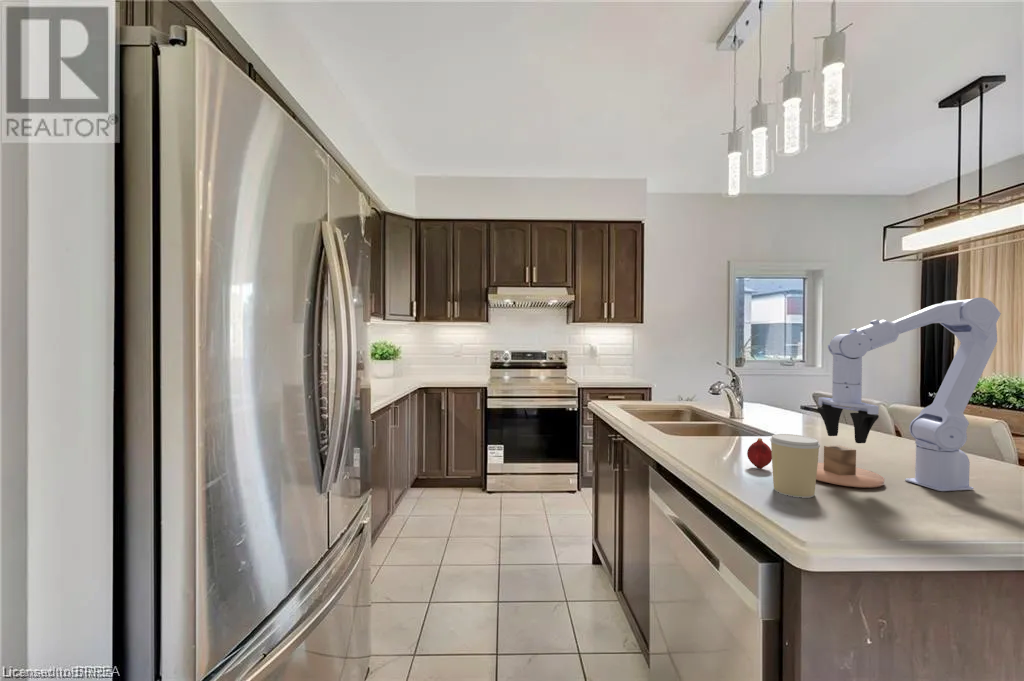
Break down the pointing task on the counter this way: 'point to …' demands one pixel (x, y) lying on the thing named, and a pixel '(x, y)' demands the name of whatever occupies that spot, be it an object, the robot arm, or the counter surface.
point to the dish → (850, 478)
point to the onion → (759, 454)
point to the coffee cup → (794, 464)
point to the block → (840, 460)
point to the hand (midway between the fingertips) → (846, 439)
